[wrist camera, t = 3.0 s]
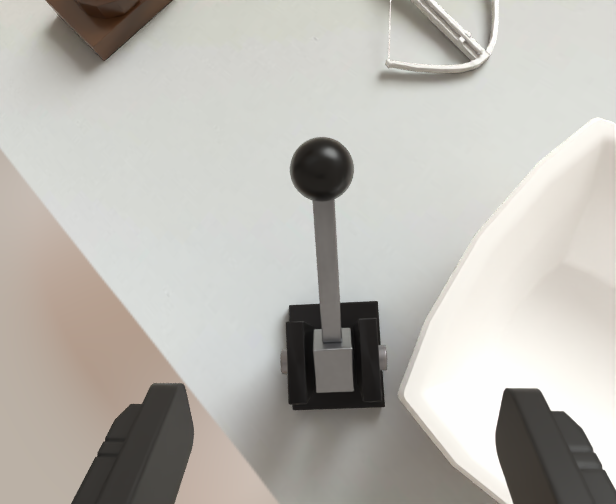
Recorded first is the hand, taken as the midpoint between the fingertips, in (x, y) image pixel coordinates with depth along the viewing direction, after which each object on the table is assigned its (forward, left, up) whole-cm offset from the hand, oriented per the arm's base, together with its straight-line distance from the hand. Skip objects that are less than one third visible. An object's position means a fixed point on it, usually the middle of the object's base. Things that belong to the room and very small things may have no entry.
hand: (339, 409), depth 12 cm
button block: (-13, +37, -27) cm, 47 cm away
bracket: (0, +1, -27) cm, 27 cm away
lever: (+1, +6, -15) cm, 16 cm away
